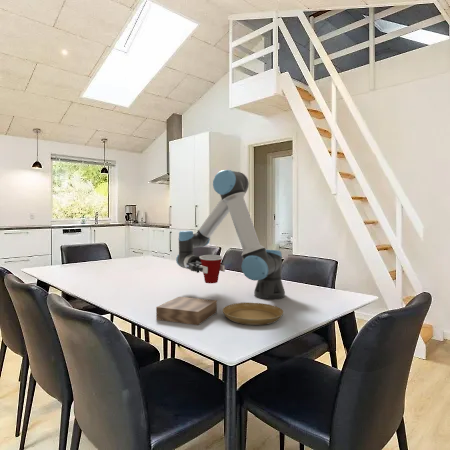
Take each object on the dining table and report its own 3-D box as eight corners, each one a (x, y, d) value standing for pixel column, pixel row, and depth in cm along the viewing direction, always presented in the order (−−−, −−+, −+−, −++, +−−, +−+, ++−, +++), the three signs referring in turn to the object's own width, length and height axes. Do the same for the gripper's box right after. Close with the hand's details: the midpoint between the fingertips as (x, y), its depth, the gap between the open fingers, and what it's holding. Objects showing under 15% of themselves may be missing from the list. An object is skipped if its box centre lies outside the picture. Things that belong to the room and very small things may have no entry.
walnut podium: (216, 312, 153) (216, 300, 153) (198, 325, 136) (198, 311, 136) (178, 307, 159) (178, 296, 159) (156, 319, 143) (156, 306, 142)
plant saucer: (277, 309, 158) (277, 302, 158) (288, 327, 134) (289, 318, 134) (221, 309, 158) (221, 302, 157) (223, 328, 134) (223, 319, 133)
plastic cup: (202, 285, 160) (202, 258, 159) (197, 280, 170) (197, 255, 170) (226, 283, 163) (226, 257, 162) (219, 279, 173) (219, 254, 173)
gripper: (212, 268, 187) (235, 275, 167) (174, 272, 177) (194, 280, 157) (212, 254, 187) (235, 259, 167) (174, 257, 177) (194, 262, 157)
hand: (215, 269), depth 162 cm, fingers closed on plastic cup, 8 cm apart
